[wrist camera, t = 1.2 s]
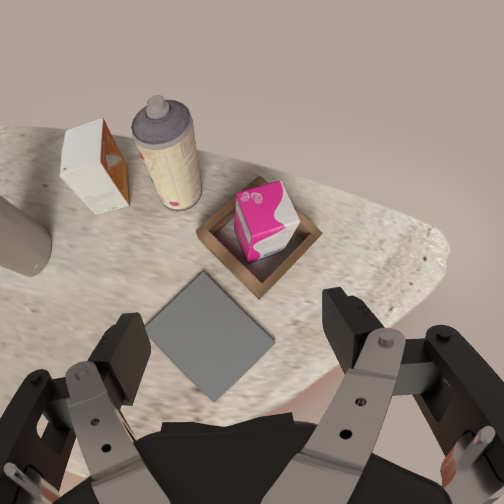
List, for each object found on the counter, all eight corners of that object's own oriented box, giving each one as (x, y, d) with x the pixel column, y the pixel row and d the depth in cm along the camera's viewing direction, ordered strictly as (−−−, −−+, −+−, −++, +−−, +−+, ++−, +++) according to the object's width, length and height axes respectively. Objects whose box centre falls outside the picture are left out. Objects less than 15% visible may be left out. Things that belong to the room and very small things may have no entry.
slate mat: (143, 329, 37) (142, 329, 36) (203, 272, 40) (203, 271, 39) (214, 401, 35) (214, 402, 35) (274, 342, 38) (275, 342, 38)
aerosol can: (164, 171, 44) (135, 81, 24) (204, 174, 44) (195, 79, 25) (155, 209, 42) (113, 126, 23) (198, 212, 42) (181, 126, 23)
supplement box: (269, 216, 43) (283, 178, 32) (283, 252, 42) (303, 224, 31) (232, 227, 42) (235, 191, 31) (246, 264, 41) (253, 239, 30)
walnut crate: (198, 238, 41) (195, 230, 38) (257, 186, 44) (259, 175, 41) (259, 299, 40) (262, 296, 36) (315, 240, 43) (322, 233, 39)
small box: (130, 206, 42) (100, 162, 29) (95, 215, 41) (57, 177, 28) (128, 165, 44) (103, 116, 31) (95, 174, 43) (64, 130, 30)
